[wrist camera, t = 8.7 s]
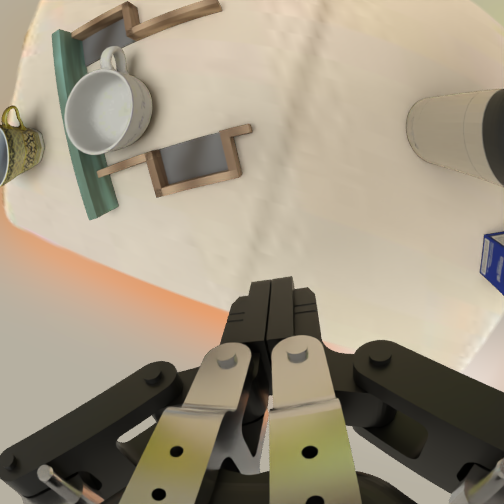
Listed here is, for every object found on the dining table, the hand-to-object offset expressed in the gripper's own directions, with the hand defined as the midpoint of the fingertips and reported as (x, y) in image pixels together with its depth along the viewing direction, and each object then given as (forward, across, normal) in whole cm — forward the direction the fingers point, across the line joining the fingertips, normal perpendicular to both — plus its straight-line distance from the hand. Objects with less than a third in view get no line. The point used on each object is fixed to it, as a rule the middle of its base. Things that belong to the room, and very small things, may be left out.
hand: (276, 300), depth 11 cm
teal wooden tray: (+28, +14, -16) cm, 36 cm away
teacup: (+29, +18, -16) cm, 37 cm away
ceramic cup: (+29, +38, -17) cm, 51 cm away
